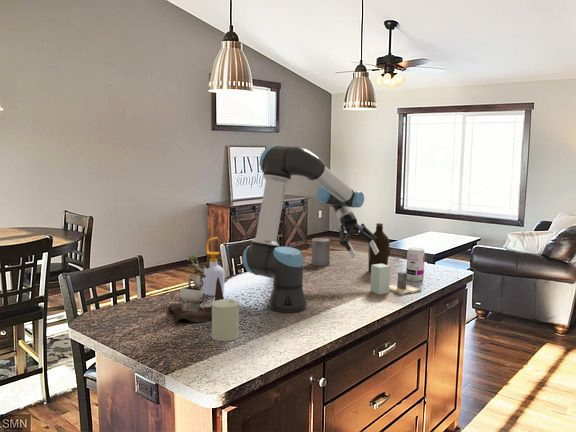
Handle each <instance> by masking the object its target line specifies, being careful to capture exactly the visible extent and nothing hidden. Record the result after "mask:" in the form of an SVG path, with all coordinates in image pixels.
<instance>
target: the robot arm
mask: <svg viewBox="0 0 576 432" xmlns="http://www.w3.org/2000/svg"><path fill="white" fill-rule="evenodd" d="M259 166H260V170H261V171H262V177H263V178H264V180H265V184H264V189H263V194H262V201H261V206H260V211H259V217H258V223H257V229H256V234H255V237H254V238H253V239H252V240H251V242H250V245H248V246H246V248H245V249H244V251H243V254H242V263H243V266H244V268H245V270H246V272H248V273H250V274H253V275H255V276H261V277H266V278H271V279H272V282H273V283H272V290H271V293H270V297H269V299H268V308H269V309H270V310H272V311H274V312H279V313H297V312H302V311H305V310H306V309H307V300H306V298H305V291H304V289H303V278H304V277H303V275H304V255H303V252H301V250H299V249H297V248H295V247H290V246H280V244H279V243H278V241H277V240H278V233H279V228H280V221H281V215H282V210H283V203H284V199H285V198H284V197H285V193H286V188H287V187H286V186H287V184H288V183H290V182H291V179H292V176H298V177H299V176H300V177H304V178H306V179H307V180H309V181H314V182H315V183H317V185H319V186H320V187H318V189H317V190H316V194H315V198H316V199H317V201H318V202H320V203H321V204H324V205H326V206H329V207H331V208H332V209H333V210H334V212H335V215H336V216H337V218H338V220H339V222H340V224H341V225H340V226H339V227H338V231H339V245H341V246H342V247H345V249H346V251H348V253H349V255H350V257H351V258H352V259H353V258H354V257H355V256H356V252H355V250H354V248H353V246H352V244H351V242H349V239H350V237H351V236H353V235H357V236H360V237H362V238H363V239H364V240H366V241H369V242H370V243H369V244H370V246H371V248H372V250H373V252H374V254H375V255H377V253H378V252H379V250H378V248H377V245H376V243H375V240H376V239H377V237H376V236H375V235H374V234H373V233H374V232H371V230H369V228H367V226H366V225H365V223H361V224H358V220H357V217H356V216H355V214H354V212H353V210H352V208H356V209H357V208H361V207H362V206H363V205H364V202H365V195H364V193H363V191H361V190H359V191H358V190H353V189H352V188H351V187H350V186H349V185H348V184H347V183H345V182H344V181H343V180H342V179H341V178H340V177H339V176H337V175H336V174H335V173H334V172H332V170H330V169H329V168H328V167H327V166H326V163H325V161H324V160H323V159H321V158H320V157H319V156H317V154H315V153H313V152H312V151H310V150H308V149H307V148H304V147H301V146H286V145H285V146H284V145H273V146H268V147H267V148H265V149H264V150H263V151H262V153H261V155H260V157H259ZM345 232H346V233H345ZM370 239H371V240H370Z"/></svg>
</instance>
